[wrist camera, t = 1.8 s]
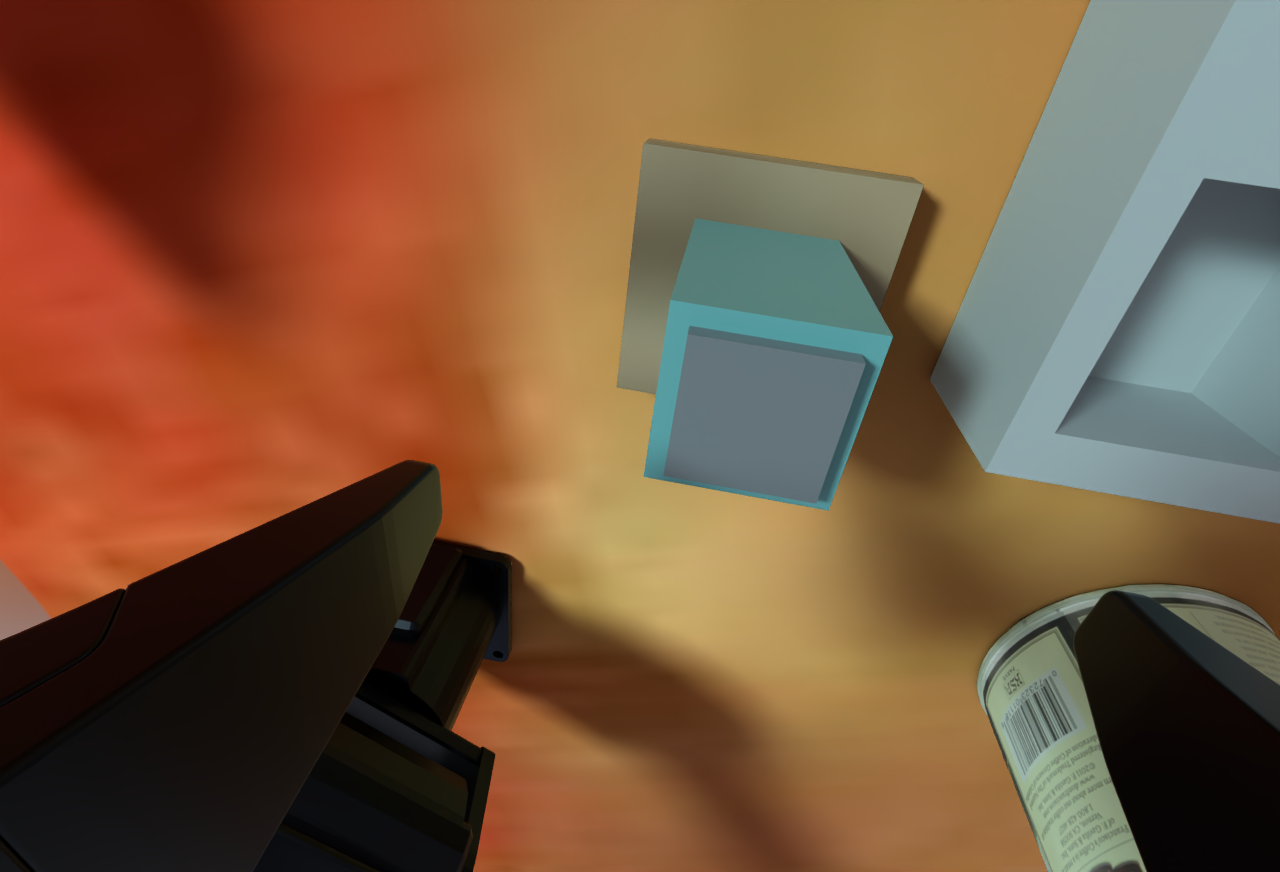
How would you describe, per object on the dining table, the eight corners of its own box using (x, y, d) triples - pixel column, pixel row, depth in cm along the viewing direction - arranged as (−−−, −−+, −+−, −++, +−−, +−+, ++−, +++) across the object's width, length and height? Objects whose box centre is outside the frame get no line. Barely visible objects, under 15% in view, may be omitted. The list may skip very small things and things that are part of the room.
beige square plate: (834, 407, 19) (839, 426, 18) (623, 370, 20) (616, 387, 19) (912, 177, 16) (924, 184, 15) (649, 138, 16) (643, 142, 15)
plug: (801, 370, 18) (831, 523, 12) (674, 349, 18) (640, 487, 12) (839, 240, 16) (898, 346, 10) (695, 218, 16) (667, 307, 10)
